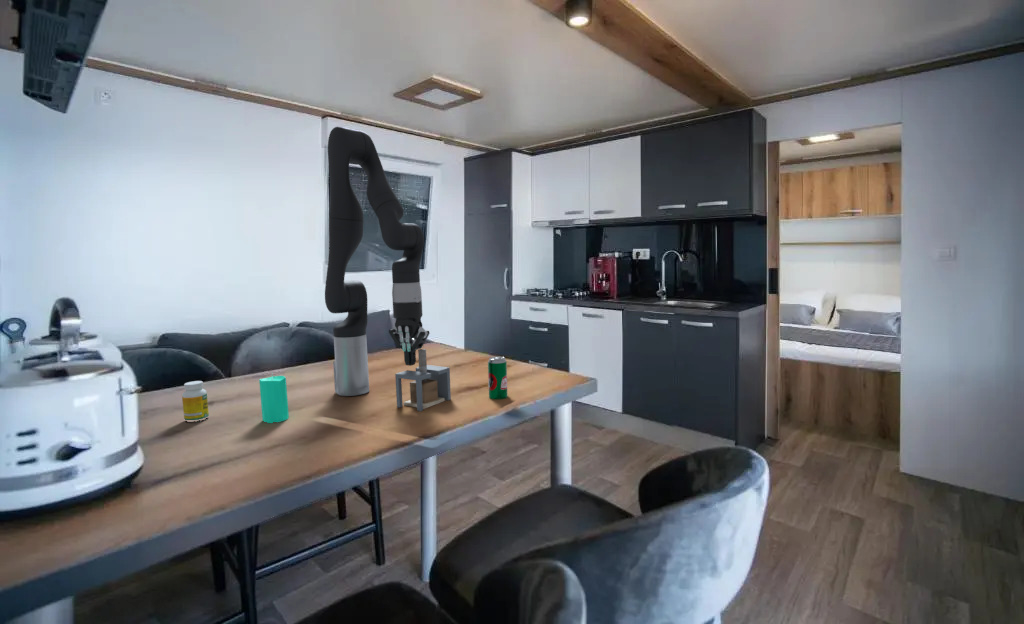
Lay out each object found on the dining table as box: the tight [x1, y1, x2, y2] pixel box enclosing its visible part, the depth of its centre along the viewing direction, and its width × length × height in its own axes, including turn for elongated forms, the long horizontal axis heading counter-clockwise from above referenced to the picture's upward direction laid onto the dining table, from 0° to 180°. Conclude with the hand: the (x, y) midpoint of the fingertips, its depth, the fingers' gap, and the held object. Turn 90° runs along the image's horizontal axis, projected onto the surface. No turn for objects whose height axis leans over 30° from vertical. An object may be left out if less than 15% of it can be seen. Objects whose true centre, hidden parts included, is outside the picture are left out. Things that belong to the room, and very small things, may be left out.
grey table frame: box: [394, 364, 452, 412], centre depth 135 cm, size 27×14×10 cm, turn 58°
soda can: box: [487, 356, 509, 400], centre depth 138 cm, size 5×5×12 cm
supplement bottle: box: [181, 380, 210, 420], centre depth 129 cm, size 5×5×10 cm
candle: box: [258, 372, 290, 424], centre depth 127 cm, size 6×6×12 cm
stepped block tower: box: [403, 348, 446, 410], centre depth 134 cm, size 7×8×14 cm
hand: (410, 364), depth 136 cm, fingers closed
